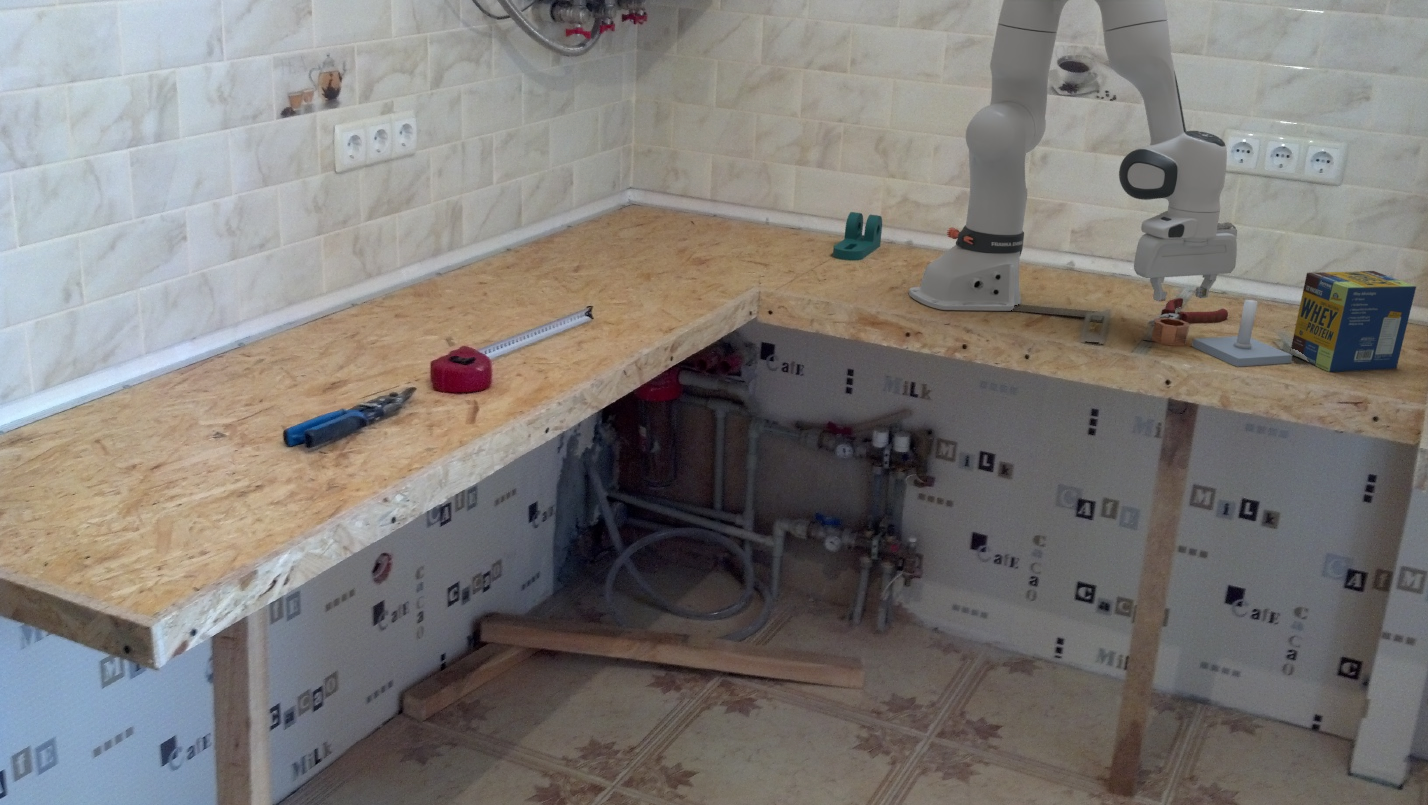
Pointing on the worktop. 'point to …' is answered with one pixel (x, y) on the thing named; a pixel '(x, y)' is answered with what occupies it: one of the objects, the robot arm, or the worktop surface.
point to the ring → (1170, 331)
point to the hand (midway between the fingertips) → (1180, 298)
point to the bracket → (859, 237)
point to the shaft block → (1243, 344)
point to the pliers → (1191, 314)
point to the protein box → (1352, 320)
